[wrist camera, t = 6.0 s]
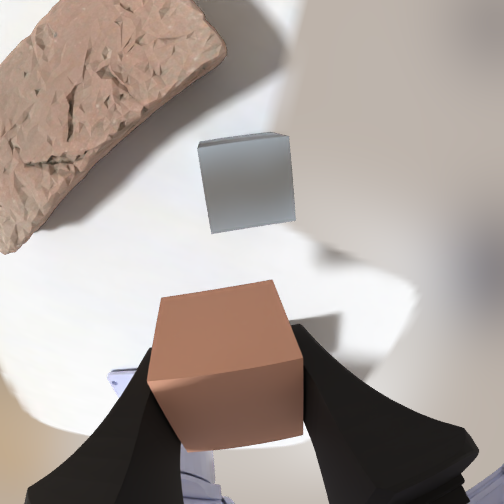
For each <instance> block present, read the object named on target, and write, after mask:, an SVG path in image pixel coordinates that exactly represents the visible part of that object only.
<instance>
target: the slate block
mask: <svg viewBox="0 0 504 504" xmlns="http://www.w3.org/2000/svg"><path fill="white" fill-rule="evenodd" d="M197 149H198V156H199V162H200V169H201V175H202V181H203V187H204V193H205V199H206V205H207V211H208V217H209V223H210V228H211V234H215V233H221V232H227V231H233V230H239V229H245V228H251V227H258V226H264V225H270V224H277V223H283V222H290V221H295V220H296V218H295V203H294V190H293V177H292V165H291V154H290V144H289V136H286V135H281V134H277V133H273V132H268V133H259V134H250V135H242V136H235V137H227V138H220V139H214V140H208V141H201V142H199V145H198V148H197Z"/></svg>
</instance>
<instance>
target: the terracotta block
mask: <svg viewBox="0 0 504 504" xmlns="http://www.w3.org/2000/svg"><path fill="white" fill-rule="evenodd" d="M147 383H148V385H149V387H150V389H151V390H152V392H153V394H154V396H155V398H156V400H157V402H158V404H159V405H160V407H161V409H162V411H163V412H164V414H165V416H166V418H167V420H168V421H169V423H170V425H171V426H172V428H173V430H174V431H175V433H176V435H177V436H178V438H179V440H180V441H181V443H182V444H183V446H184V448H185V449H186V451H187V452H201V451H211V450H220V449H228V448H236V447H243V446H249V445H255V444H261V443H267V442H272V441H277V440H282V439H287V438H291V437H296V436H300V435H303V356H302V354H301V351H300V348H299V346H298V343H297V341H296V338H295V336H294V333H293V331H292V328H291V326H290V323H289V320H288V318H287V315H286V313H285V310H284V308H283V305H282V303H281V300H280V298H279V295H278V293H277V290H276V288H275V285H274V283H273V280H267V281H262V282H256V283H250V284H244V285H238V286H233V287H227V288H220V289H214V290H208V291H202V292H196V293H189V294H183V295H176V296H170V297H163V298H161V302H160V307H159V312H158V318H157V323H156V328H155V334H154V340H153V345H152V351H151V358H150V364H149V370H148V377H147Z"/></svg>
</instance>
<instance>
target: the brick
mask: <svg viewBox="0 0 504 504" xmlns="http://www.w3.org/2000/svg"><path fill="white" fill-rule="evenodd" d="M226 56H227V47H226V44H225V42H224V40H223V39H222V38H221V36H220V35H219V34H218V32H217V31H216V30H215V28H214V27H212V26H211V25H210V23H209V22H207V21H206V19H205V14H204V13H203V12H202V11H201V9H200V8H199V7H198V6H197V5H196V4H195V3H194V1H193V0H60V1H59V2H58V3H57V4H56V5H54V6H53V7H52V9H51V10H50V11H49V13H48V14H47V15H46V16H44V17H43V18H42V19H41V20H40V21H39V23H38V24H37V25H36V26H35V28H34V30H33V32H32V33H31V35H30V36H28V37H27V38H25V39H24V40H22V41H21V42H20V43H19V44H18V45H17V47H16V48H15V49H14V50H13V51H12V52H11V53H10V54H9V55H8V56H7V57H6V59H5V60H4V61H3V62H2V63H1V64H0V252H1V253H3V254H4V255H6V254H9V253H12V252H16V251H17V250H18V249H19V248H20V247H21V246H22V244H24V243H26V242H27V241H28V240H29V239H30V237H31V236H32V234H33V233H34V232H36V231H37V230H38V229H39V228H40V227H41V226H42V225H43V224H44V223H45V222H46V221H47V219H48V218H49V216H50V215H51V214H52V212H53V211H54V210H55V209H56V207H57V206H58V205H59V203H60V202H61V201H62V200H63V199H64V198H65V196H66V195H67V194H68V193H69V192H70V191H71V190H72V189H73V188H74V187H75V186H76V185H77V184H78V183H79V182H80V181H81V180H83V179H84V178H85V176H86V175H87V173H88V172H89V171H90V169H91V168H92V167H93V166H94V165H95V164H96V163H97V162H98V161H99V160H100V159H102V158H103V157H104V156H106V155H107V154H108V153H109V152H110V151H111V150H112V149H113V148H114V146H116V145H117V144H118V143H119V142H120V141H122V140H123V139H124V138H125V137H126V136H128V135H129V134H130V133H131V132H132V131H133V130H134V129H135V128H136V127H137V126H139V125H140V124H141V123H142V122H144V121H145V120H146V119H147V118H149V117H150V116H151V114H153V113H154V112H155V111H156V110H158V109H159V108H160V107H161V106H163V105H164V104H165V103H166V102H168V101H170V100H171V99H172V98H173V97H174V96H176V95H177V94H179V93H180V92H181V91H183V90H184V89H185V88H187V87H188V86H189V85H191V84H192V83H193V82H195V81H196V80H197V79H199V78H201V77H202V76H204V75H205V74H207V73H208V72H210V71H211V70H213V69H214V68H215V67H217V66H218V65H219V64H220V63H221V62H222V61H223V60H224V58H225V57H226Z"/></svg>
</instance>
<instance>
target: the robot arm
mask: <svg viewBox="0 0 504 504" xmlns="http://www.w3.org/2000/svg"><path fill="white" fill-rule="evenodd" d="M291 328H292V331H293V333H294V336H295V338H296V341H297V343H298V346H299V348H300V351H301V354H302V356H303V421H304V423H305V426H306V428H307V431H308V433H309V436H310V438H311V441H312V443H313V446H314V449H315V452H316V456H317V459H318V463H319V466H320V469H321V474H322V477H323V481H324V485H325V489H326V492H327V496H328V500H329V504H504V464H503V465H502V466H501V467H500V468H499V469H498V470H496V471H495V472H494V473H492V474H491V475H490V476H488V477H487V478H485V479H484V480H483V481H481V482H480V483H478V484H477V485H475V486H474V487H473V488H471V489H469V490H468V491H466V492H465V490H464V488H463V487H462V484H463V483H464V481H465V480H464V478H463V476H462V475H461V473H462V472H463V471H464V470H465V469H466V468H467V467H468V466H469V465H470V464H471V462H473V461H474V459H475V458H476V457H477V455H478V453H479V449H478V447H477V446H476V444H475V443H474V441H473V439H472V438H471V436H470V435H469V434H468V433H467V432H466V430H465V429H464V428H462V427H459V426H455V425H452V424H448V423H445V422H441V421H438V420H435V419H432V418H430V417H427V416H425V415H422V414H420V413H417V412H415V411H413V410H411V409H409V408H407V407H405V406H403V405H401V404H399V403H397V402H395V401H393V400H391V399H389V398H388V397H386V396H384V395H383V394H381V393H379V392H378V391H376V390H375V389H373V388H372V387H370V386H369V385H367V384H366V383H364V382H363V381H362V380H360V379H359V378H357V377H356V376H355V375H354V374H352V373H351V372H350V371H349V370H347V369H346V368H345V367H344V366H343V365H341V364H340V363H339V362H338V361H337V360H336V359H335V358H334V357H332V356H331V355H330V354H329V353H328V352H327V351H326V350H325V349H324V348H323V347H322V346H321V345H320V344H319V343H318V342H317V341H316V340H315V339H314V338H313V337H312V336H311V335H310V334H309V332H308V331H307V330H306V329H305V328H304V327H303V326H302V325H301V324H296V325H291ZM151 351H152V348H149V350H148V351H147V353H146V354H145V356H144V358H143V360H142V361H141V363H140V365H139V367H138V368H137V370H134V371H121V372H109V373H108V375H107V379H108V381H109V383H110V384H111V386H112V388H113V389H114V391H115V392H116V394H117V396H118V397H119V399H118V401H117V402H116V403H115V405H114V406H113V408H112V409H111V411H110V412H109V414H108V415H107V416H106V418H105V419H104V420H103V422H102V423H101V424H100V425H99V427H98V428H97V429H96V430H95V431H94V433H93V434H92V435H91V436H90V437H89V438H88V439H87V440H86V441H85V443H84V444H82V445H81V447H80V448H79V449H78V450H77V451H76V452H75V453H74V454H73V455H71V456H70V457H69V458H68V459H67V460H66V461H65V462H64V463H63V464H61V465H60V466H59V467H57V468H56V469H55V470H54V471H52V472H51V473H50V474H48V475H47V476H46V477H44V478H43V479H41V480H40V481H38V482H37V483H35V484H34V485H32V486H30V487H29V488H28V490H27V494H26V499H25V503H24V504H235V503H234V502H233V500H232V499H230V498H229V497H226V496H222V495H221V487H220V485H219V484H214V483H215V470H214V458H213V450H211V451H201V452H187V451H186V449H185V448H184V446H183V444H182V443H181V441H180V440H179V438H178V436H177V435H176V433H175V431H174V430H173V428H172V426H171V425H170V423H169V421H168V420H167V418H166V416H165V414H164V412H163V411H162V409H161V407H160V405H159V404H158V402H157V400H156V398H155V396H154V394H153V392H152V390H151V389H150V387H149V385H148V383H147V377H148V370H149V364H150V358H151ZM115 381H116V382H115Z"/></svg>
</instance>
